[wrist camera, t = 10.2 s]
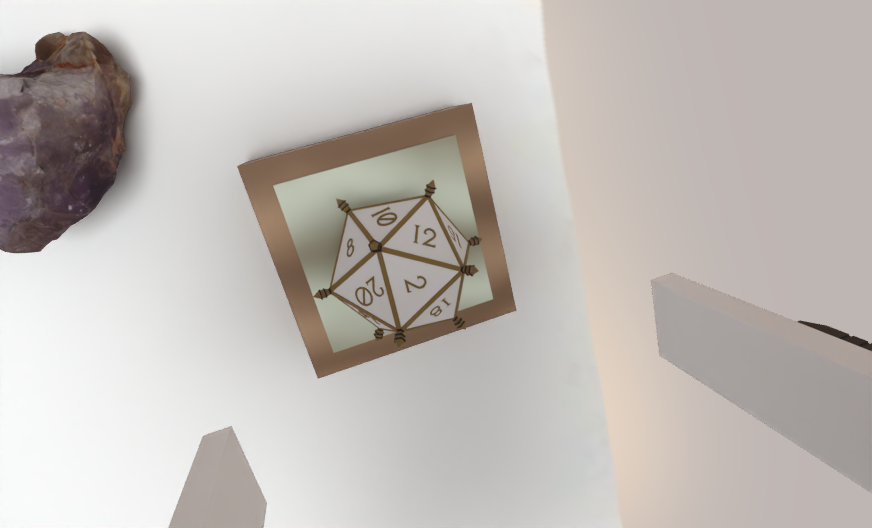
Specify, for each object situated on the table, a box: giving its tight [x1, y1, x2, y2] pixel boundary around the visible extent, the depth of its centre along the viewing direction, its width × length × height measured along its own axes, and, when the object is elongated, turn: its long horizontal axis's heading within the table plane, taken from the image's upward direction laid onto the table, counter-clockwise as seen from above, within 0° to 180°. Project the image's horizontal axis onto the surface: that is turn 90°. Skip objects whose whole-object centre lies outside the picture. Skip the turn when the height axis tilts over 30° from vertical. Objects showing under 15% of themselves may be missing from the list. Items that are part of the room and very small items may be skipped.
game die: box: [313, 179, 482, 348], centre depth 26 cm, size 9×8×10 cm
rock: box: [0, 32, 131, 253], centre depth 24 cm, size 12×9×10 cm
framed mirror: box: [237, 103, 516, 378], centre depth 32 cm, size 14×14×4 cm
